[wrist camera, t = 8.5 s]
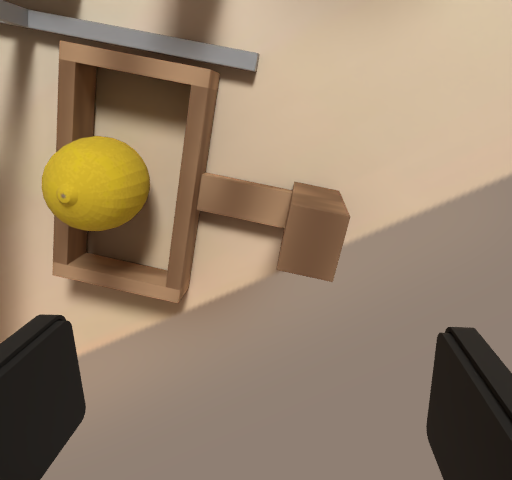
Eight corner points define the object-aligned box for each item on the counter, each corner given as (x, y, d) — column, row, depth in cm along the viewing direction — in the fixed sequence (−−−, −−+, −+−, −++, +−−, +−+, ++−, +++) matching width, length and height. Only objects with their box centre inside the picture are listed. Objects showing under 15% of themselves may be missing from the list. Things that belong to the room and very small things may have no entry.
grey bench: (259, 54, 25) (221, 7, 14) (221, 274, 30) (169, 374, 19) (-74, -9, 26) (-362, -100, 15) (-60, 212, 31) (-271, 271, 20)
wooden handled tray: (362, 101, 25) (382, 97, 18) (307, 314, 30) (308, 372, 23) (82, 47, 26) (6, 24, 19) (72, 262, 31) (8, 303, 24)
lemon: (180, 162, 28) (133, 181, 20) (143, 227, 30) (87, 267, 22) (109, 116, 27) (35, 118, 20) (76, 185, 29) (-4, 210, 22)
